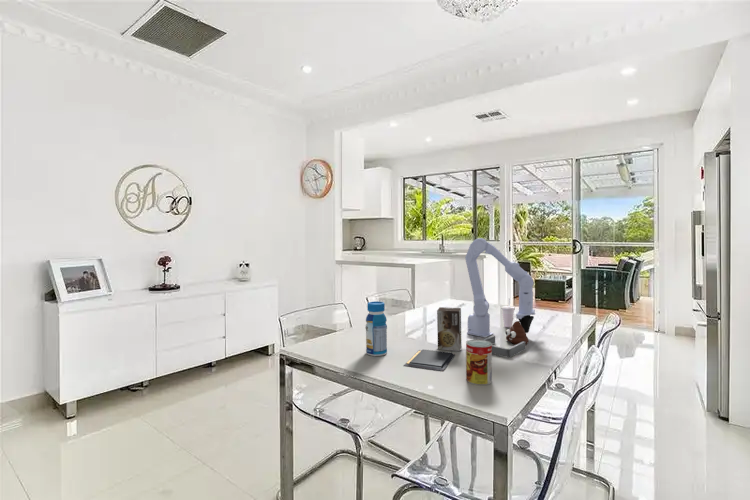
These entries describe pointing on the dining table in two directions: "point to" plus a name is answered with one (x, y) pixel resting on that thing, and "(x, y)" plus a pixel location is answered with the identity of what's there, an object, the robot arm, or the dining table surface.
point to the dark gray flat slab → (430, 360)
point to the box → (505, 351)
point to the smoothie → (508, 315)
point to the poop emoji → (516, 334)
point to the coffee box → (449, 328)
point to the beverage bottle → (376, 329)
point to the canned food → (479, 362)
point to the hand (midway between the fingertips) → (525, 332)
